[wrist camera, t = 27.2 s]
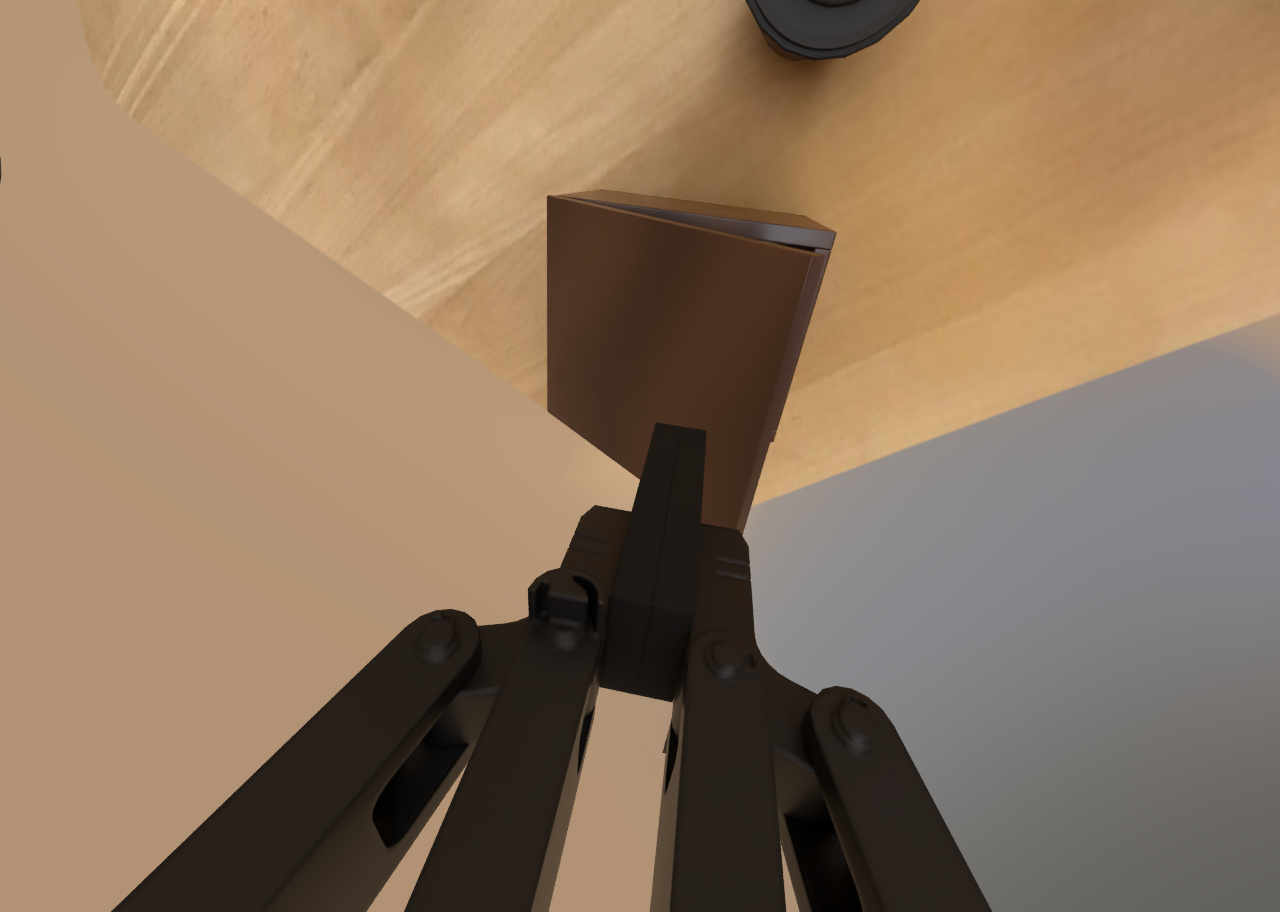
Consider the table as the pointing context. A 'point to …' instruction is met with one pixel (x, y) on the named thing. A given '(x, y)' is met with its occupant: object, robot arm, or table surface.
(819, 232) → the chest
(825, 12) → the coffee cup
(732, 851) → the robot arm
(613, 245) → the lid
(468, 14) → the table surface
